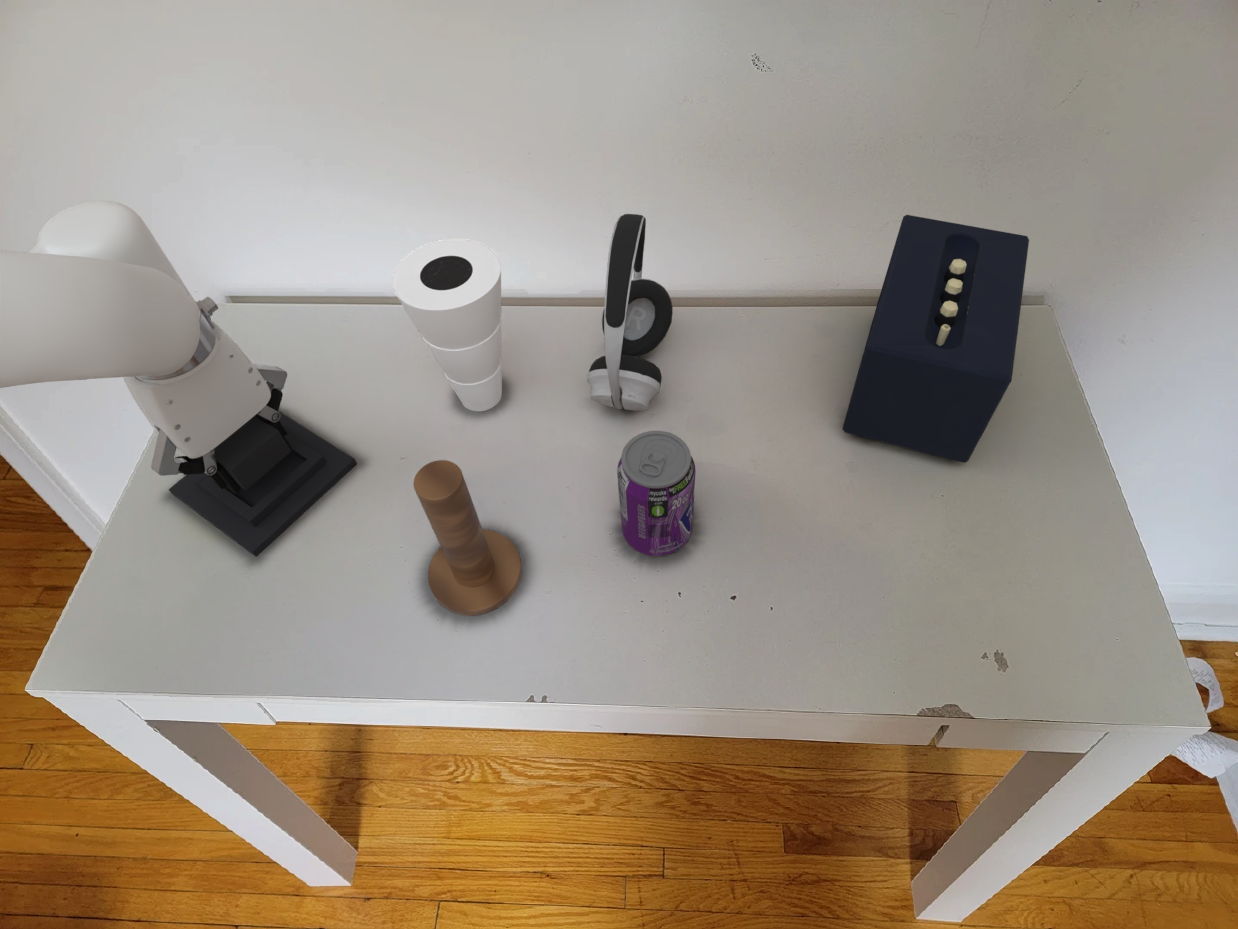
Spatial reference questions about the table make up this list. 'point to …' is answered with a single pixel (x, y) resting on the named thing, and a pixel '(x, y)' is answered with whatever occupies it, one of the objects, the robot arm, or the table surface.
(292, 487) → the base pad
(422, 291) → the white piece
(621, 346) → the headphones
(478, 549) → the stand
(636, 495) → the beverage can
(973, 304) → the speaker
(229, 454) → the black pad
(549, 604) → the table surface
